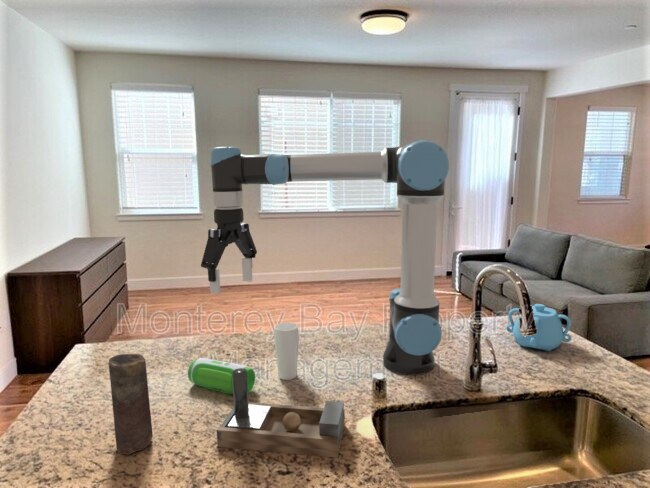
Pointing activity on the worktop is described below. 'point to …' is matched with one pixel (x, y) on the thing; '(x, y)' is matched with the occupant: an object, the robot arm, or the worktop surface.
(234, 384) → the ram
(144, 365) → the candle
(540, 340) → the decorative pot
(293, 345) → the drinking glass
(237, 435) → the base
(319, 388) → the worktop surface
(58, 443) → the worktop surface
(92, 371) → the worktop surface
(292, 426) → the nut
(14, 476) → the worktop surface
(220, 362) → the speaker
